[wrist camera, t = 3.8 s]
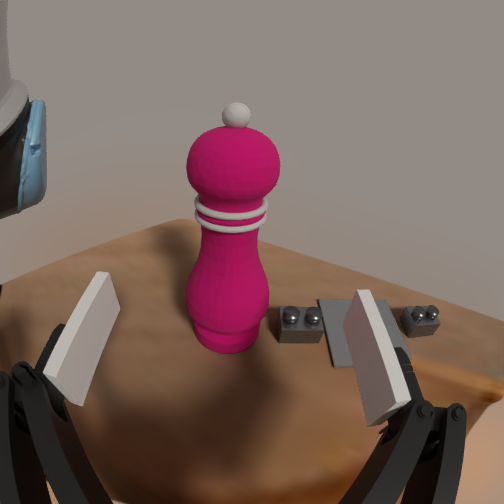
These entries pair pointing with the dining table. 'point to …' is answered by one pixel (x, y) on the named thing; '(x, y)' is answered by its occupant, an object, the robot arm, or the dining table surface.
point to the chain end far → (420, 320)
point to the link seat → (336, 337)
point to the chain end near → (299, 324)
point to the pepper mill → (230, 231)
